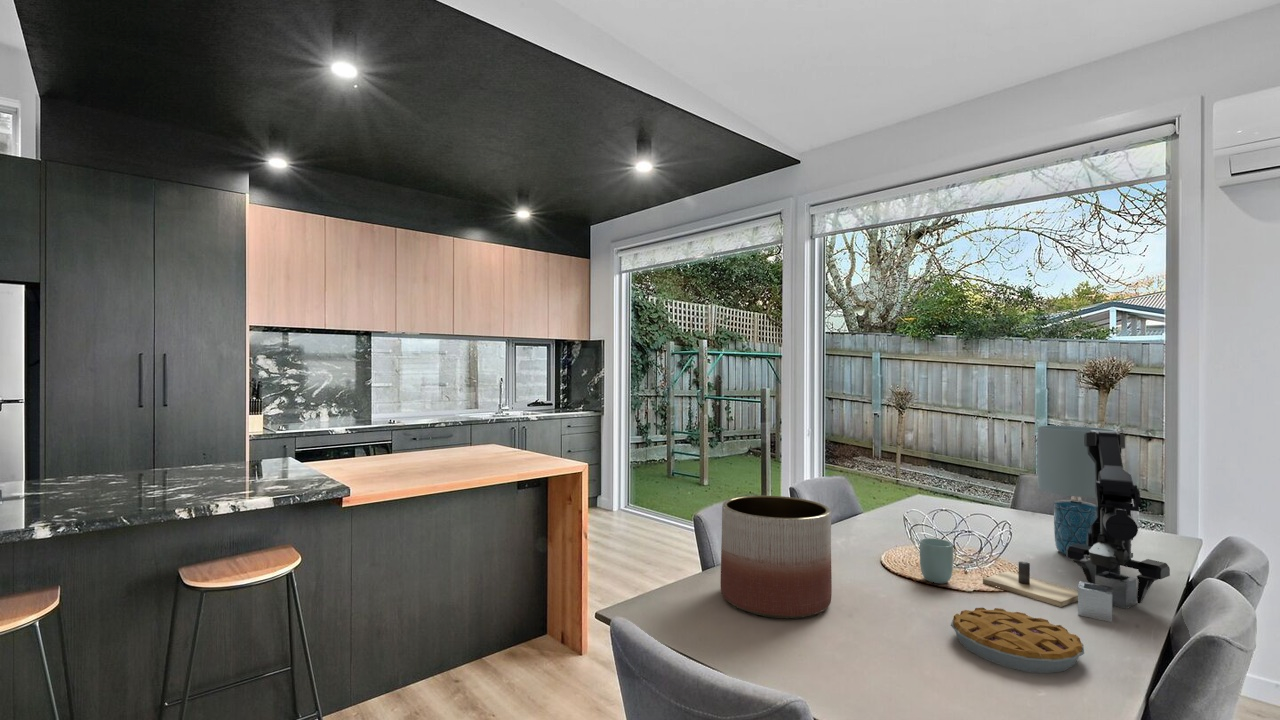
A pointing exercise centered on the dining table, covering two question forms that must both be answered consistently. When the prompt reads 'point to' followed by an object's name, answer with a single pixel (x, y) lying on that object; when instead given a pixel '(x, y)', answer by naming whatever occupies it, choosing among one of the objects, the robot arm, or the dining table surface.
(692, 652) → the dining table surface
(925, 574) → the cup
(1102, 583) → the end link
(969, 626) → the pie
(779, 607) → the planter
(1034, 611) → the dining table surface
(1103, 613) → the grey open cube box
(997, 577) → the board
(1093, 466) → the lamp
